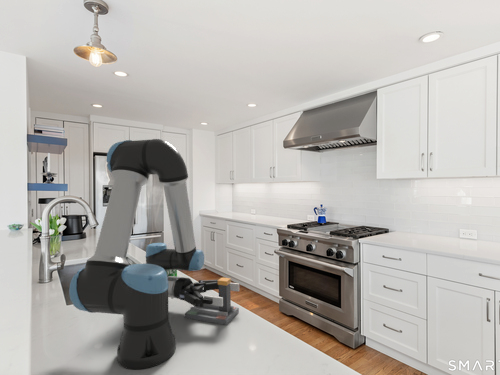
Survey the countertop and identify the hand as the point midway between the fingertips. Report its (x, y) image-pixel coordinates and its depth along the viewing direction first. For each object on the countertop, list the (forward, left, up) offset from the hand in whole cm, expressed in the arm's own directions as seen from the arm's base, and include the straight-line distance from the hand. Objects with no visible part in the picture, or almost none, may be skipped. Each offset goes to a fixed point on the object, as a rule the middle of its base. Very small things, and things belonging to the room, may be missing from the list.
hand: (231, 294), depth 100 cm
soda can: (+24, +43, -8) cm, 50 cm away
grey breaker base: (0, +7, -8) cm, 11 cm away
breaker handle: (0, +2, -6) cm, 7 cm away
